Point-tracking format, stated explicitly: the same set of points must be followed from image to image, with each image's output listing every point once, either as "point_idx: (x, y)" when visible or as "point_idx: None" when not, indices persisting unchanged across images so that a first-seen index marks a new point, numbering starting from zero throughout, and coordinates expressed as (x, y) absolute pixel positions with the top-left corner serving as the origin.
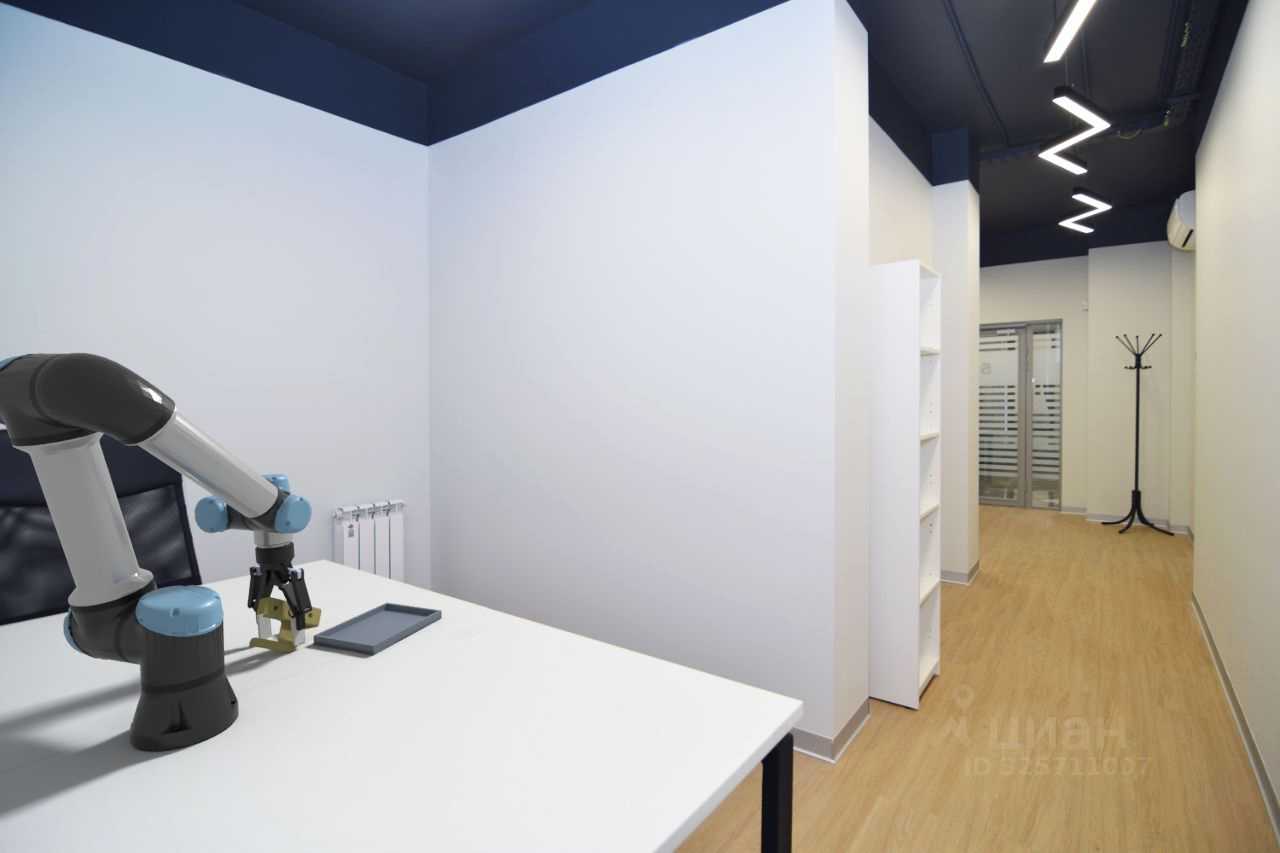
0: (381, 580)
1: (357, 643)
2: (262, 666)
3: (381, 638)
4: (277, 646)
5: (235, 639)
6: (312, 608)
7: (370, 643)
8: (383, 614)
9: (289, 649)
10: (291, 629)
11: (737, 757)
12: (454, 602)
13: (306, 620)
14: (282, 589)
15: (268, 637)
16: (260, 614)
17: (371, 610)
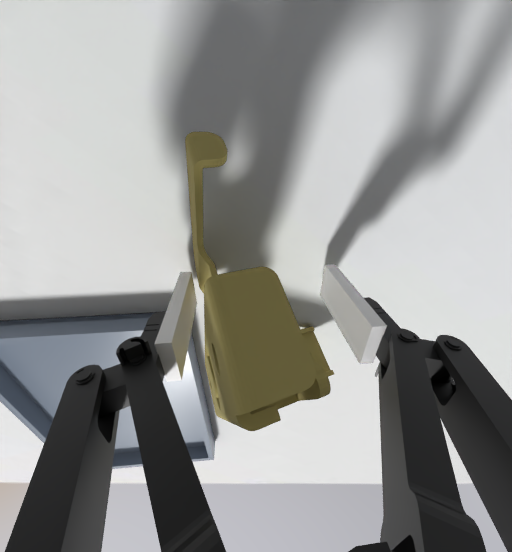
0: (333, 482)
1: (5, 337)
2: (165, 140)
3: (52, 377)
4: (193, 234)
5: (427, 258)
6: (216, 411)
7: (39, 355)
8: (190, 433)
9: (195, 259)
10: (180, 304)
11: None
12: (139, 481)
13: (206, 362)
14: (192, 535)
15: (321, 286)
16: (365, 325)
17: (204, 437)
